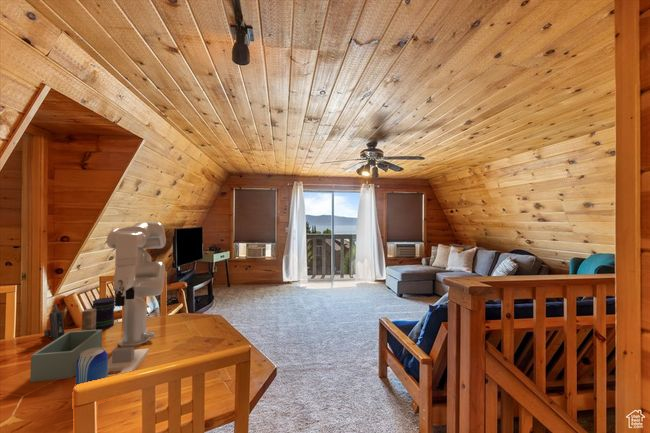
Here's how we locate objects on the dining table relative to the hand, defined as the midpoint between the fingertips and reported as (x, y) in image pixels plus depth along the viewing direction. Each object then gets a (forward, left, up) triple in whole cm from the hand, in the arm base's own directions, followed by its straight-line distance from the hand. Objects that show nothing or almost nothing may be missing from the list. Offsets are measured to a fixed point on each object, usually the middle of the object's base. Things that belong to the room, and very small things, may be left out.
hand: (125, 302), depth 118 cm
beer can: (+1, +22, -26) cm, 34 cm away
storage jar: (+28, -47, -26) cm, 61 cm away
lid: (0, +1, -26) cm, 26 cm away
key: (+25, -26, -26) cm, 45 cm away
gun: (+44, -35, -27) cm, 62 cm away
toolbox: (+21, -4, -26) cm, 34 cm away
